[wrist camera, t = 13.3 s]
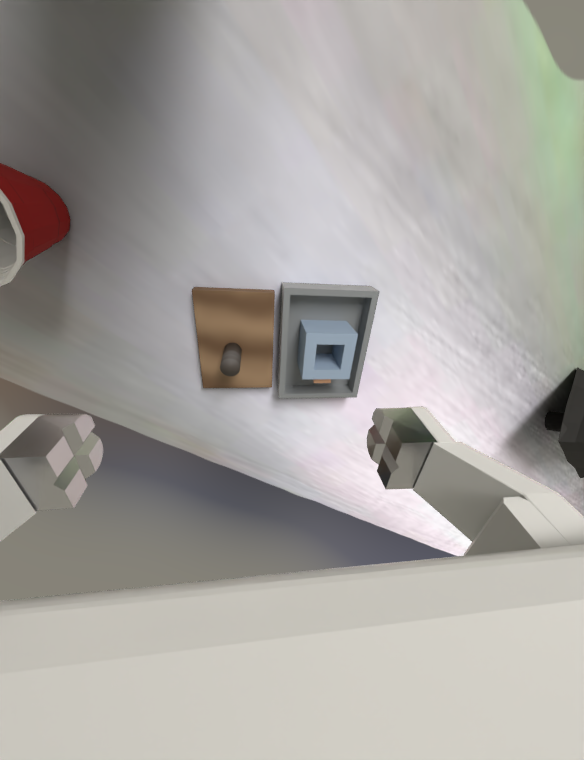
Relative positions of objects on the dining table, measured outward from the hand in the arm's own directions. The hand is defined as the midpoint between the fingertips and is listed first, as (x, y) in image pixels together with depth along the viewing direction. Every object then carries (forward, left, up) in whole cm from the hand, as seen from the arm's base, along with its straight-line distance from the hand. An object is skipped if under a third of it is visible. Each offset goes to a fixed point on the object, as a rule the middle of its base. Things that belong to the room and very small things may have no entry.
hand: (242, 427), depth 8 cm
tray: (+10, +10, -31) cm, 34 cm away
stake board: (+10, -2, -31) cm, 32 cm away
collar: (+10, +10, -30) cm, 33 cm away
